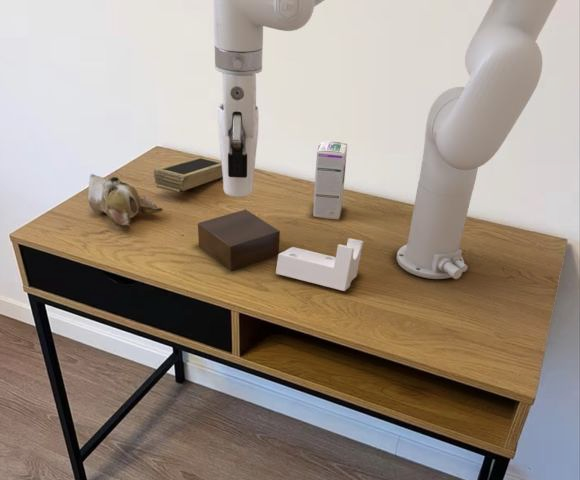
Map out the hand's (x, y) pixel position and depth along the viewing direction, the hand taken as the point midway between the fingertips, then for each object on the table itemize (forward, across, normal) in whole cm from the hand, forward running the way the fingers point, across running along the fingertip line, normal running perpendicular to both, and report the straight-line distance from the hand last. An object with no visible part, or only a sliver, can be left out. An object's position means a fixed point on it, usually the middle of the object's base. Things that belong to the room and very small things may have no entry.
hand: (238, 168), depth 111 cm
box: (+17, +31, +11) cm, 37 cm away
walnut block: (+16, 0, 0) cm, 16 cm away
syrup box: (+16, +18, -18) cm, 30 cm away
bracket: (+16, -8, -15) cm, 24 cm away
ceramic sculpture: (+17, +12, +24) cm, 32 cm away
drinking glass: (+5, 0, 0) cm, 5 cm away
